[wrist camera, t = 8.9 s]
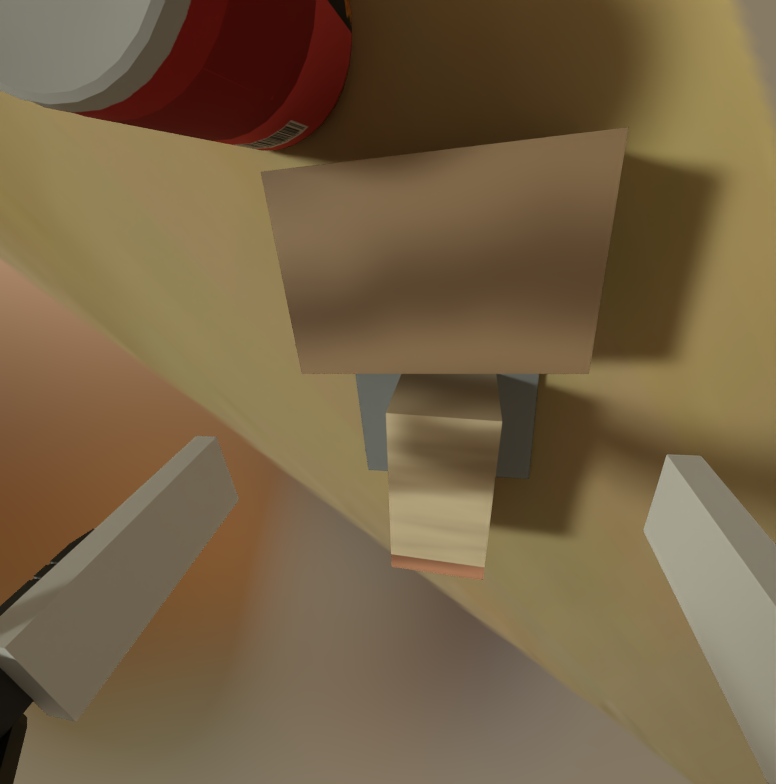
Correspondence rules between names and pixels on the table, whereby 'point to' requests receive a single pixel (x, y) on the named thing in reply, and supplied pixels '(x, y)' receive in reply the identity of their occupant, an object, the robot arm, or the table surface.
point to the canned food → (182, 63)
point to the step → (449, 256)
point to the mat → (515, 412)
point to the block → (442, 471)
